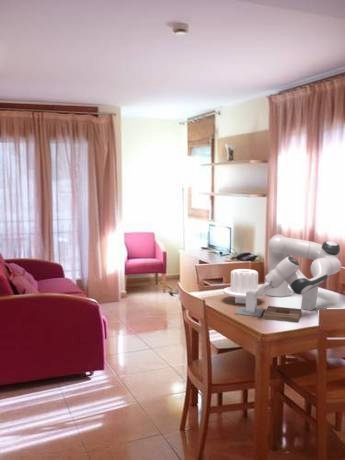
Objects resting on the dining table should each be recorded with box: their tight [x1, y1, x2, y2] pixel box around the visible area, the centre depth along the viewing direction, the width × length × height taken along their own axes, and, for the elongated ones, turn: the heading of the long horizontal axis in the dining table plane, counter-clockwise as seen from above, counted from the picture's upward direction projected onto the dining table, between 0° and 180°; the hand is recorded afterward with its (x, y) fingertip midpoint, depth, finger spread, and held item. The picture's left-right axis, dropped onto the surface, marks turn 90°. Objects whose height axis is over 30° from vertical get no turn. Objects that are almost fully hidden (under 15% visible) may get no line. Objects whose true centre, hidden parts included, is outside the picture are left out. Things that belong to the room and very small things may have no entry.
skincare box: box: [300, 285, 319, 312], centre depth 250 cm, size 8×6×15 cm
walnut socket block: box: [262, 305, 302, 324], centre depth 236 cm, size 18×18×2 cm
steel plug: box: [245, 291, 258, 313], centre depth 242 cm, size 5×5×11 cm
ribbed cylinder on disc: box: [223, 268, 266, 305], centre depth 266 cm, size 25×25×19 cm
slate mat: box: [234, 306, 266, 318], centre depth 244 cm, size 14×14×1 cm
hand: (255, 297), depth 241 cm, fingers open, 8 cm apart
